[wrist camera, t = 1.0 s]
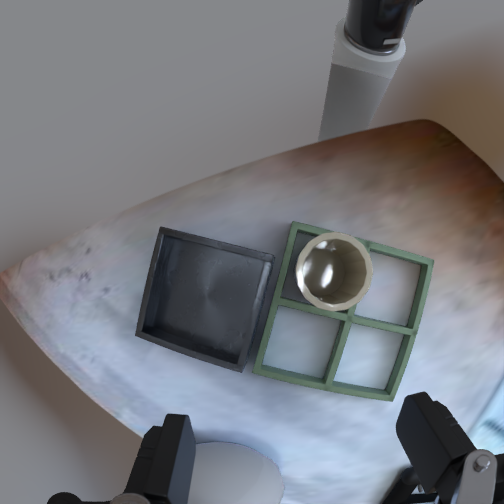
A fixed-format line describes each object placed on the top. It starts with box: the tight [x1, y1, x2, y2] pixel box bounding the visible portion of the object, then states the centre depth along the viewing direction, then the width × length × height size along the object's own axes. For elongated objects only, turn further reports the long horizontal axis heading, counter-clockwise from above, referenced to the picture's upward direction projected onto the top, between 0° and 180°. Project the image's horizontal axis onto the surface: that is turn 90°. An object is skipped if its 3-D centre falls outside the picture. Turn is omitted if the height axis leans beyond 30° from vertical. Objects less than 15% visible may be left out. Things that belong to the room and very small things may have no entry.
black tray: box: [135, 227, 275, 373], centre depth 35 cm, size 14×14×4 cm
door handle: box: [383, 467, 438, 504], centre depth 28 cm, size 3×20×16 cm
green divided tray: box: [252, 221, 434, 402], centre depth 33 cm, size 18×18×2 cm
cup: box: [294, 232, 373, 312], centre depth 30 cm, size 7×7×11 cm
